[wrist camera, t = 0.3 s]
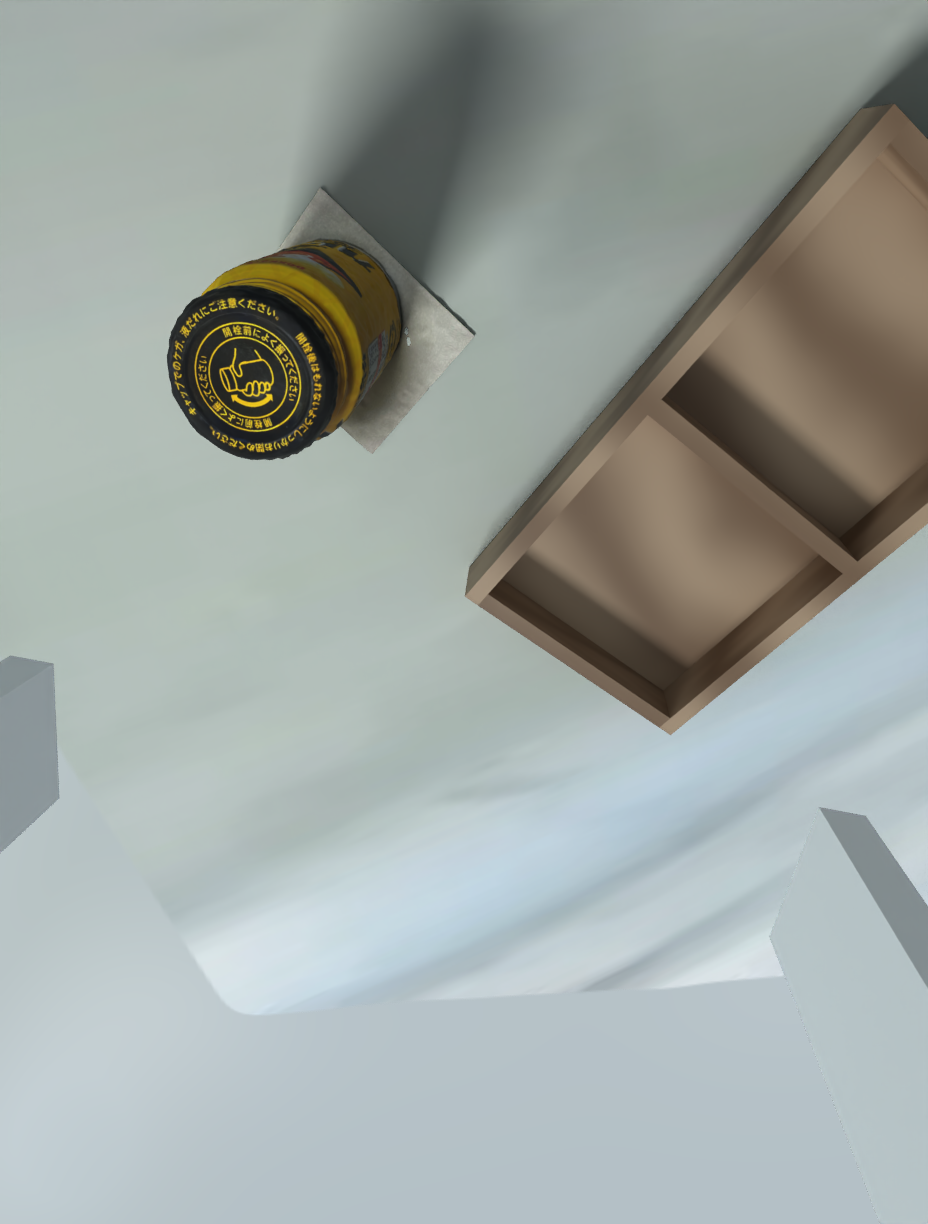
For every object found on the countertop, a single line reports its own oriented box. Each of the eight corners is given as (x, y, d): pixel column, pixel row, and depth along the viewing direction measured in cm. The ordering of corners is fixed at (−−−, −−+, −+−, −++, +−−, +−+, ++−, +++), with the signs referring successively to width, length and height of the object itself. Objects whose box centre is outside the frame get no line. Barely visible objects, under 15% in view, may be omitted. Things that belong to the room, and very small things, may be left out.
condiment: (321, 187, 30) (212, 200, 20) (475, 335, 33) (448, 414, 22) (226, 326, 33) (90, 399, 23) (373, 451, 36) (309, 567, 26)
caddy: (860, 108, 27) (894, 103, 25) (1079, 340, 31) (1129, 357, 28) (469, 567, 39) (464, 596, 36) (662, 700, 42) (670, 734, 39)
